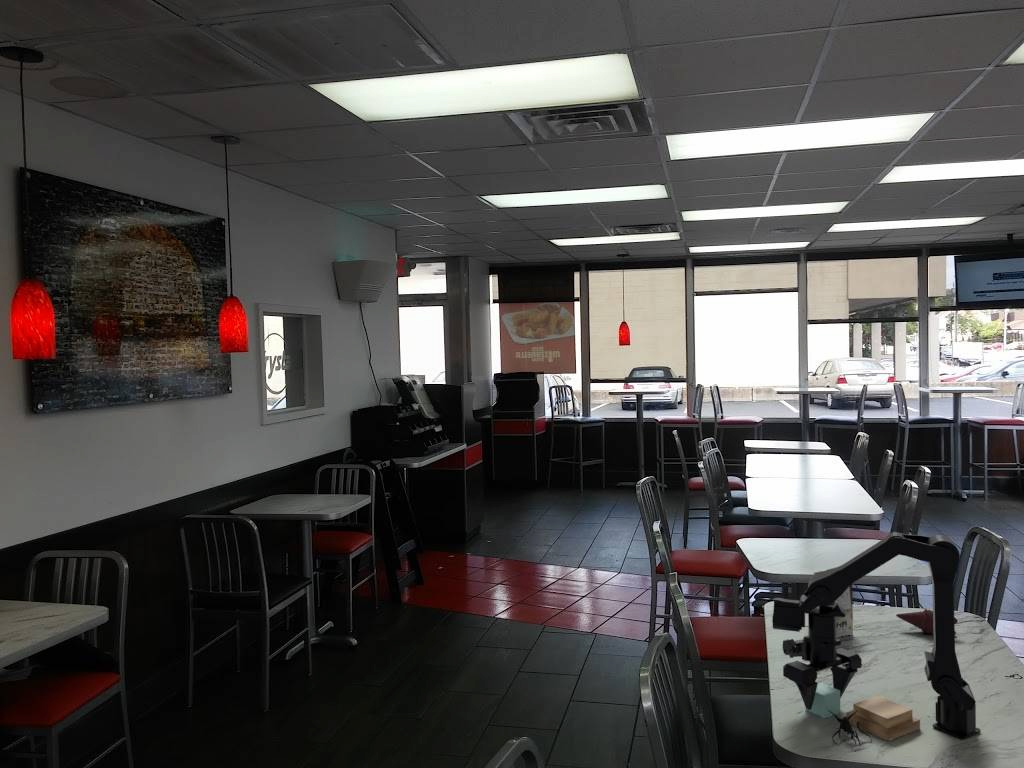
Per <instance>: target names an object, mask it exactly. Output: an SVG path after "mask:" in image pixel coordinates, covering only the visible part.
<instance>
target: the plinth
mask: <svg viewBox="0 0 1024 768" xmlns="http://www.w3.org/2000/svg"><path fill="white" fill-rule="evenodd" d="M852 708H853V710H850V711H847V712H846V714H845V717H849V716H850V715H852V714H853V713H854V712H855V711H857V710H858V711H857V712H856V713H855V714H854V715H853V716H852V717H851V718H850V719H849V722H850V725H851V726H852V725H853V726H855V727H857V722H860V724H859V727H860V729H861V730H862V731H865V732H867V733H869V734H872V735H874V736H876V737H878V736H879V737H878V738H880V737H881V738H880V739H882V738H884V739H886V740H885V741H887V740H891V739H894V738H897V739H899V738H901V737H900V736H902V737H904V736H907V735H909V734H911V732H912V733H914V732H917V731H919V730H921V720H920V718H916V717H915V716H913V709H912V708H910V707H907V706H906V705H905V706H904V705H903V704H900V703H897V702H895V701H892V700H891V699H888V698H886V697H882V696H880V695H875V696H873V697H870V698H866V699H864V700H861V701H858V702H854V703H853V707H852ZM851 721H852V724H851ZM916 730H917V731H916ZM913 731H914V732H913ZM908 733H909V734H908ZM906 734H907V735H906ZM903 735H904V736H903ZM898 737H899V738H898ZM884 739H883V740H884ZM894 740H895V739H894Z"/></svg>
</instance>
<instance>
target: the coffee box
mask: <svg viewBox="0 0 1024 768" xmlns="http://www.w3.org/2000/svg"><path fill="white" fill-rule="evenodd" d="M823 571H824V570H820V571H816V572H813V576H814V575H816V574H818V573H821V572H823ZM836 603H839V605H840V606H841V607H842V608H843V609H844V610H845V615H846V616H845V617H836V630H837V638H842V637H841V636H844V637H849V636H848V635H850V636H853V635H854V623H853V622H854V618H853V617H854V614H853V613H854V610H853V607H854V604H853V584H851V585H850V586H849V587H848V588H847V590H846V591H845V592H844V593H843V594H842V595H841V596H840V597H839V598H838V599H837V600H836V601H835V602H834V603H832V604H831V605H829V606H833V605H835V604H836ZM818 607H819V606H818ZM846 635H847V636H846Z"/></svg>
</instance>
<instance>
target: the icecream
mask: <svg viewBox="0 0 1024 768" xmlns="http://www.w3.org/2000/svg"><path fill="white" fill-rule="evenodd" d="M895 617H897V618H899V619H900V620H902V621H904V622H907V623H909V624H911V625H912V626H913V627H916V628H918V629H920V630H921V631H922V634H923V635H924V634H925V633H926V634H931V635H934V630H933V610H931V609H927V608H924V610H923V611H914V612H907V613H898V614H896V616H895ZM957 623H958V619H957V617H955V616H954V624H955V625H957ZM956 635H957V632H956V630H955V636H956Z"/></svg>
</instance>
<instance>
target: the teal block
mask: <svg viewBox="0 0 1024 768" xmlns="http://www.w3.org/2000/svg"><path fill="white" fill-rule="evenodd" d="M817 683H818V682H817ZM805 710H806V711H808V712H810V713H812V714H815V715H816V716H818V715H819V716H818V717H820V716H821V718H823V719H827V718H830V717H833V716H834V715H833V714H835V715H836V716H837V715H838V714H841V699H840V690H837V689H835V688H833V686H830V685H827V684H826V683H823V682H819V683H818V685H817V689H816V693H815V697H814V702H813V705H812V708H811V710H808V709H806V708H805ZM828 710H829V711H831V712H832V713H833V714H832V713H831V712H829V711H828ZM832 715H833V716H832ZM829 716H830V717H829ZM826 717H827V718H826Z"/></svg>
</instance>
